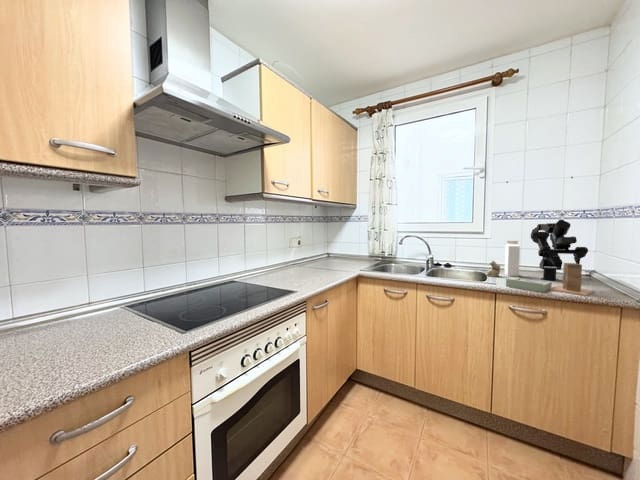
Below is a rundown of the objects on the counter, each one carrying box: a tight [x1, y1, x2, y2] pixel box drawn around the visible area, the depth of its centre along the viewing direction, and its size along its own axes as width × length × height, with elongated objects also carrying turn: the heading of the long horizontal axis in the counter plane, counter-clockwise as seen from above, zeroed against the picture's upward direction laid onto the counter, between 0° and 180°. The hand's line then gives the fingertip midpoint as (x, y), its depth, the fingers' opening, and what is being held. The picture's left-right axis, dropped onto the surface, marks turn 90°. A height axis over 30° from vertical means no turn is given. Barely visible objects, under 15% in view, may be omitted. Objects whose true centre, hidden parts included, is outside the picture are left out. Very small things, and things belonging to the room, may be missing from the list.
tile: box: [548, 284, 595, 297], centre depth 128 cm, size 13×13×1 cm
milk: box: [504, 240, 521, 278], centre depth 166 cm, size 6×6×22 cm
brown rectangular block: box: [562, 262, 583, 291], centre depth 128 cm, size 5×5×12 cm
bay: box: [505, 277, 553, 293], centre depth 137 cm, size 14×15×4 cm
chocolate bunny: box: [485, 260, 501, 278], centre depth 166 cm, size 6×8×10 cm
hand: (566, 264), depth 133 cm, fingers open, 9 cm apart
